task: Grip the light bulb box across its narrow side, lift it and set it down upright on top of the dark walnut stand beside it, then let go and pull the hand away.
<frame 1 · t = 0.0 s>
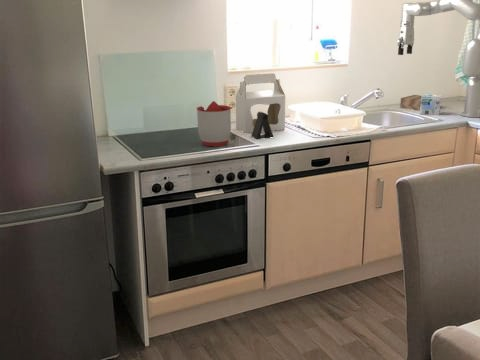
hand: (404, 54, 334), 31 cm above the worktop, tool pointing down, fingers open, 9 cm apart
light bulb box: (429, 114, 319), on the worktop
walnut stand: (418, 107, 337), on the worktop
black a-shaped stand: (262, 137, 269), on the worktop
gable box: (260, 129, 286), on the worktop
citrus juicer: (213, 144, 257), on the worktop
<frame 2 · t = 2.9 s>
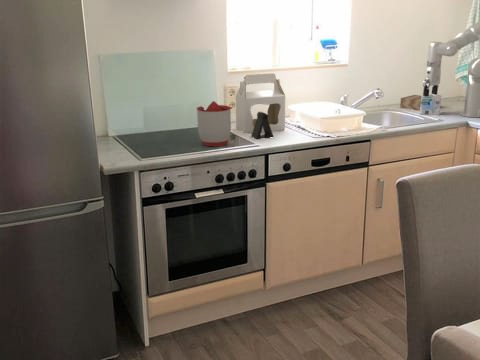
hand: (430, 95, 316), 11 cm above the worktop, tool pointing down, fingers open, 9 cm apart
light bulb box: (429, 114, 319), on the worktop, touching gripper
everything else where it was.
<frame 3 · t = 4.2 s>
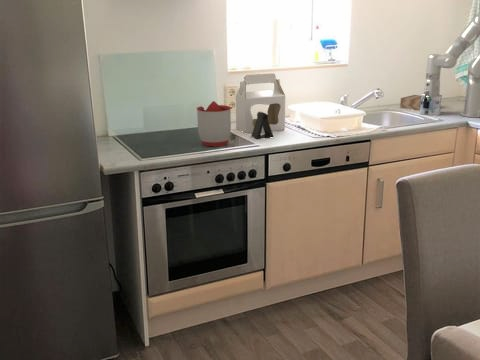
hand: (429, 107, 318), 4 cm above the worktop, tool pointing down, fingers closed on light bulb box, 8 cm apart
light bulb box: (429, 114, 319), on the worktop, touching gripper
everything else where it was.
when the fingers open (11 cm above the worktop, at t = 11.6 s): light bulb box drops 1 cm, resting on walnut stand.
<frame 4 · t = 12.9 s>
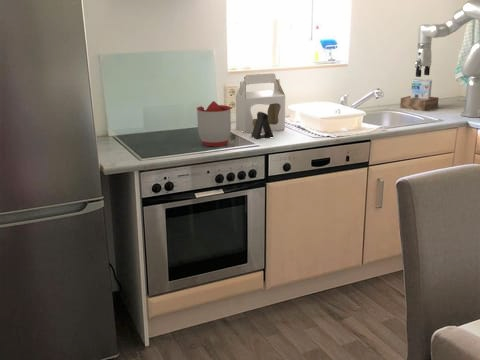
hand: (422, 75, 331), 19 cm above the worktop, tool pointing down, fingers open, 9 cm apart
light bulb box: (420, 98, 335), point 6 cm above the worktop, touching walnut stand
everything else where it was.
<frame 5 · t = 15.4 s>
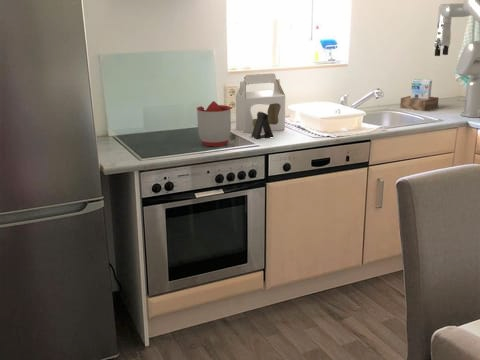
hand: (441, 55, 334), 30 cm above the worktop, tool pointing down, fingers open, 9 cm apart
nothing on the worktop moved.
at the end: light bulb box inside the target area on the walnut stand (0.5 cm from its centre), point 5.8 cm above the walnut stand's base; light bulb box tilted 0°; the gripper is holding nothing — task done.
